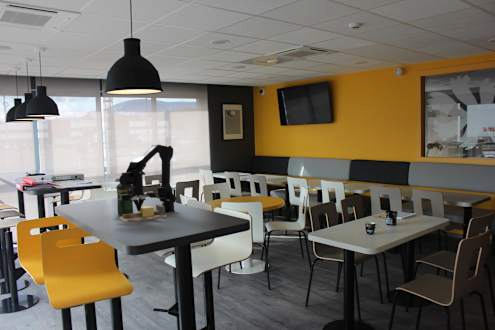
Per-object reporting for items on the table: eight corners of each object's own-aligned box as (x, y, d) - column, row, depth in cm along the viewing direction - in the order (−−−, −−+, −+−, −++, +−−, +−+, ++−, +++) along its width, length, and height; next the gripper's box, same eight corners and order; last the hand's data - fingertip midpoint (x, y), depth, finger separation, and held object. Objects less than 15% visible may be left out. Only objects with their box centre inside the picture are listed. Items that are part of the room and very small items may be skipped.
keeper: (150, 213, 227) (149, 205, 227) (154, 215, 220) (153, 207, 220) (139, 214, 224) (139, 206, 224) (143, 216, 217) (142, 208, 217)
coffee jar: (135, 214, 234) (133, 183, 233) (122, 216, 229) (120, 184, 228) (128, 212, 241) (127, 182, 240) (116, 214, 236) (114, 183, 235)
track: (160, 214, 232) (159, 203, 232) (166, 217, 222) (166, 206, 221) (119, 218, 221) (119, 208, 221) (124, 222, 211) (123, 211, 210)
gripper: (150, 181, 231) (151, 207, 232) (117, 183, 222) (118, 211, 223) (155, 182, 221) (156, 210, 222) (121, 185, 212) (122, 214, 213)
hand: (138, 211), depth 220 cm, fingers closed
